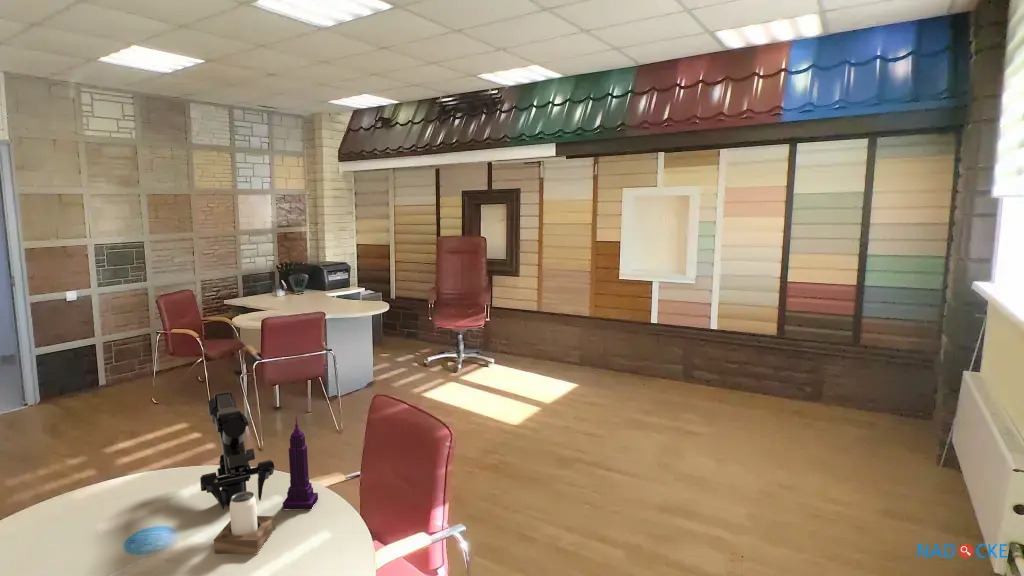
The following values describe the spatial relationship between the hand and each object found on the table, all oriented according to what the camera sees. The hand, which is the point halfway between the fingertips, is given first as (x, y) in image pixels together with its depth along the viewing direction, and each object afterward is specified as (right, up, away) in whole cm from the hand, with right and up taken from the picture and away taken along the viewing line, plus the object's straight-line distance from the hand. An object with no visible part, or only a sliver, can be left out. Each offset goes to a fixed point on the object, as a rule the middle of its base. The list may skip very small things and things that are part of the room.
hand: (242, 504), depth 157 cm
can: (+2, -8, -2) cm, 9 cm away
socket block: (+2, -9, -2) cm, 10 cm away
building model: (+10, -7, +17) cm, 21 cm away
